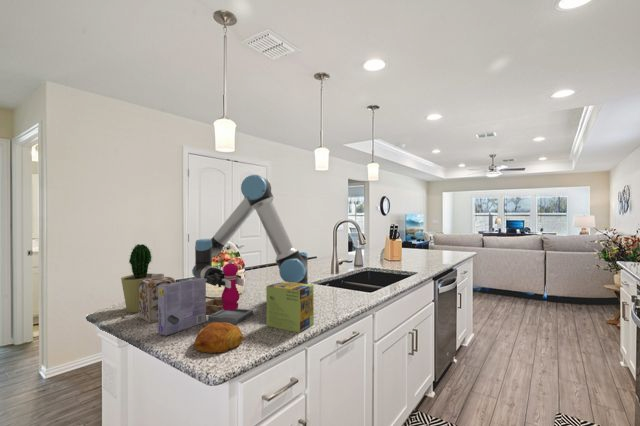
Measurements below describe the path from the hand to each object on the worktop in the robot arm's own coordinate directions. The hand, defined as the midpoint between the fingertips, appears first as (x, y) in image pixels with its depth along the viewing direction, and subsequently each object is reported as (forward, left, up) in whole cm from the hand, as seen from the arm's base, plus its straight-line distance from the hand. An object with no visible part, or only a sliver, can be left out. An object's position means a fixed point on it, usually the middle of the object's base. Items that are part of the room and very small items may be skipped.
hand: (236, 283), depth 132 cm
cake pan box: (+15, +12, -15) cm, 25 cm away
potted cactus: (+51, -2, -15) cm, 54 cm away
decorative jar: (+34, +5, -15) cm, 38 cm away
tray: (+4, -3, -15) cm, 16 cm away
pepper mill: (+5, -3, -11) cm, 12 cm away
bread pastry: (-7, +23, -15) cm, 29 cm away
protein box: (-23, -2, -15) cm, 27 cm away
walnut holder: (+17, -12, -15) cm, 26 cm away
